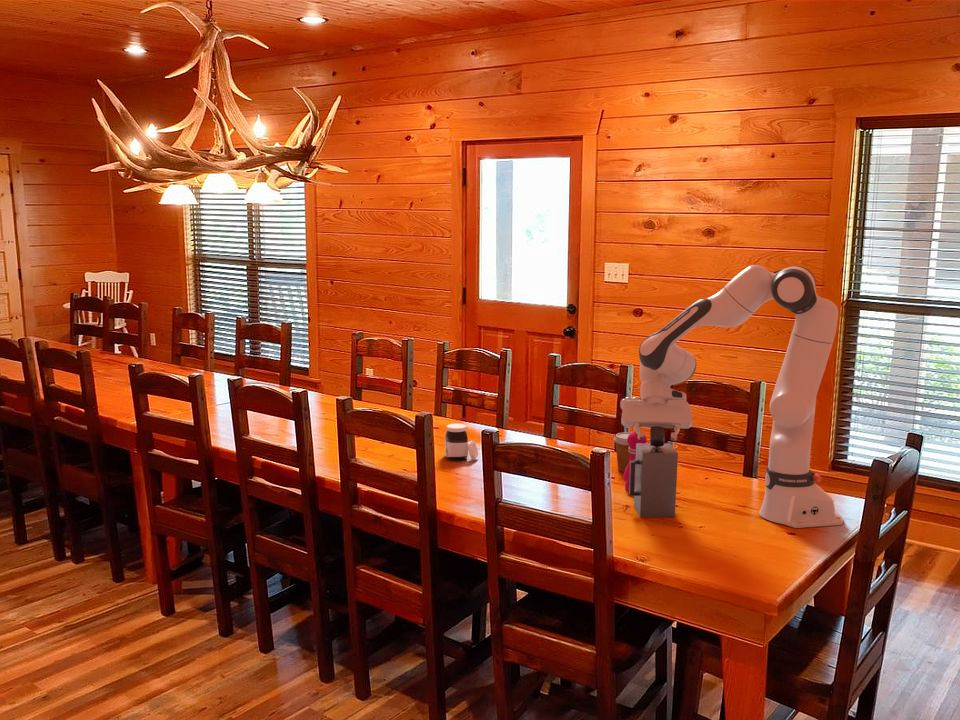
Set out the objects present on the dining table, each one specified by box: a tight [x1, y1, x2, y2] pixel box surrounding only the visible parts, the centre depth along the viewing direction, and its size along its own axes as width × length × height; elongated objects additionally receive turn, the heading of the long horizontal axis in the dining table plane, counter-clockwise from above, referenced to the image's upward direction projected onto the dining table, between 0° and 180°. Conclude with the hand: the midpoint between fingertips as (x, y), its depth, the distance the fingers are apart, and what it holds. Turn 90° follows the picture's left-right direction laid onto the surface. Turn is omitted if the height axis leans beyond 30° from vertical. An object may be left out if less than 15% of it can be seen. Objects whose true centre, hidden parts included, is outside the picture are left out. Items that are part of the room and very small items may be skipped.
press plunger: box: [649, 426, 666, 449], centre depth 253 cm, size 8×8×17 cm
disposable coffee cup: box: [613, 431, 632, 473], centre depth 294 cm, size 10×10×12 cm
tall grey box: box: [628, 442, 679, 518], centre depth 254 cm, size 12×10×19 cm
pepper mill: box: [623, 428, 648, 492], centre depth 274 cm, size 7×7×20 cm
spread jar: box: [444, 423, 479, 462], centre depth 306 cm, size 12×11×12 cm
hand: (657, 439), depth 251 cm, fingers open, 8 cm apart
